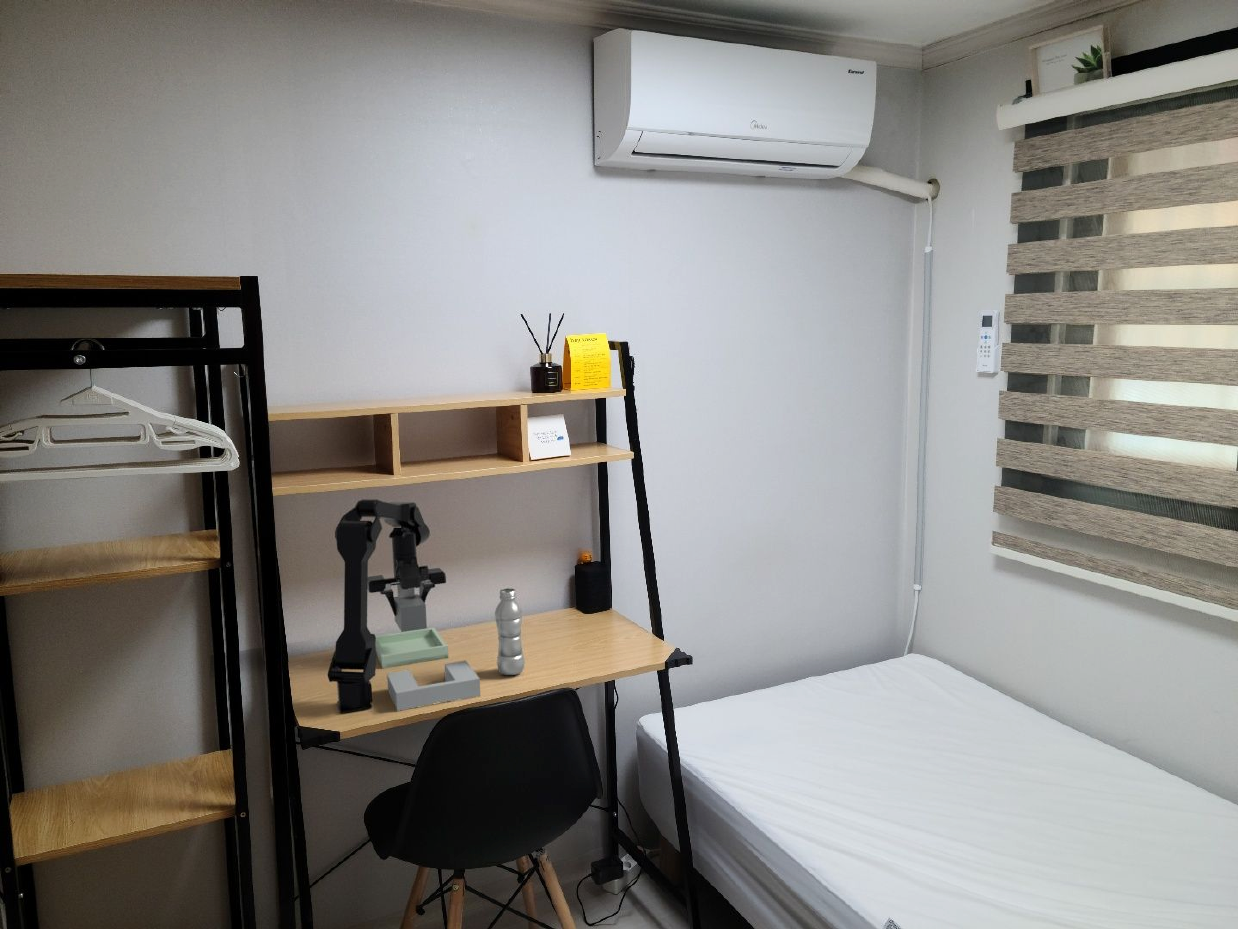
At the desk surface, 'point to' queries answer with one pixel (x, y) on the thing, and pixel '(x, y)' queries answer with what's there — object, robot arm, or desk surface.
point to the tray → (410, 647)
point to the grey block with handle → (409, 610)
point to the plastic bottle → (509, 633)
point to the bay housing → (433, 687)
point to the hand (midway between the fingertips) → (408, 613)
